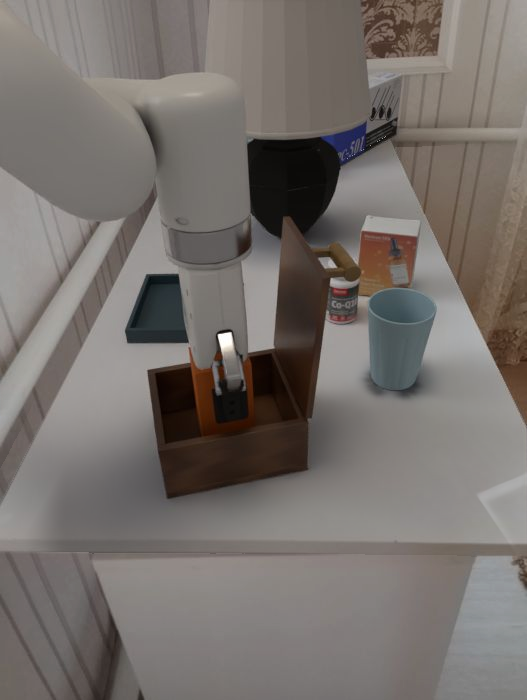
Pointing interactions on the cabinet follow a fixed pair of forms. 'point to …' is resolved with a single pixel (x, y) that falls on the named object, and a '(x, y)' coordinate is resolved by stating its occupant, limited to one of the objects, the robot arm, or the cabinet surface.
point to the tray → (158, 312)
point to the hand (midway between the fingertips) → (223, 387)
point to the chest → (230, 447)
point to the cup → (398, 335)
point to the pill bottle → (342, 299)
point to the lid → (305, 308)
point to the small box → (387, 253)
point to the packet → (205, 399)
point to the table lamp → (292, 96)
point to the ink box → (372, 118)
